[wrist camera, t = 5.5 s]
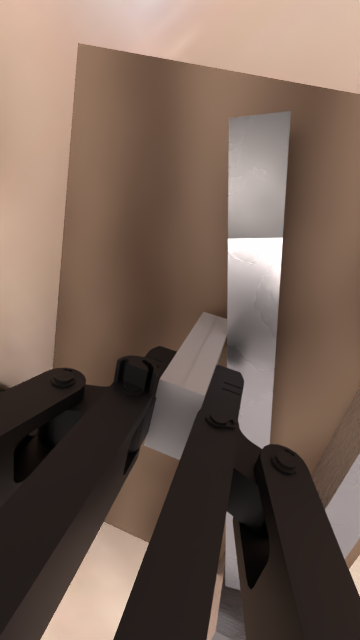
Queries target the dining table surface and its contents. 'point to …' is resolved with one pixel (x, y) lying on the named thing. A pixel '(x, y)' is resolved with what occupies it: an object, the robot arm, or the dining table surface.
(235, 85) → the cutting board
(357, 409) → the grey l-shaped bar
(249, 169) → the arm
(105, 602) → the dining table surface
